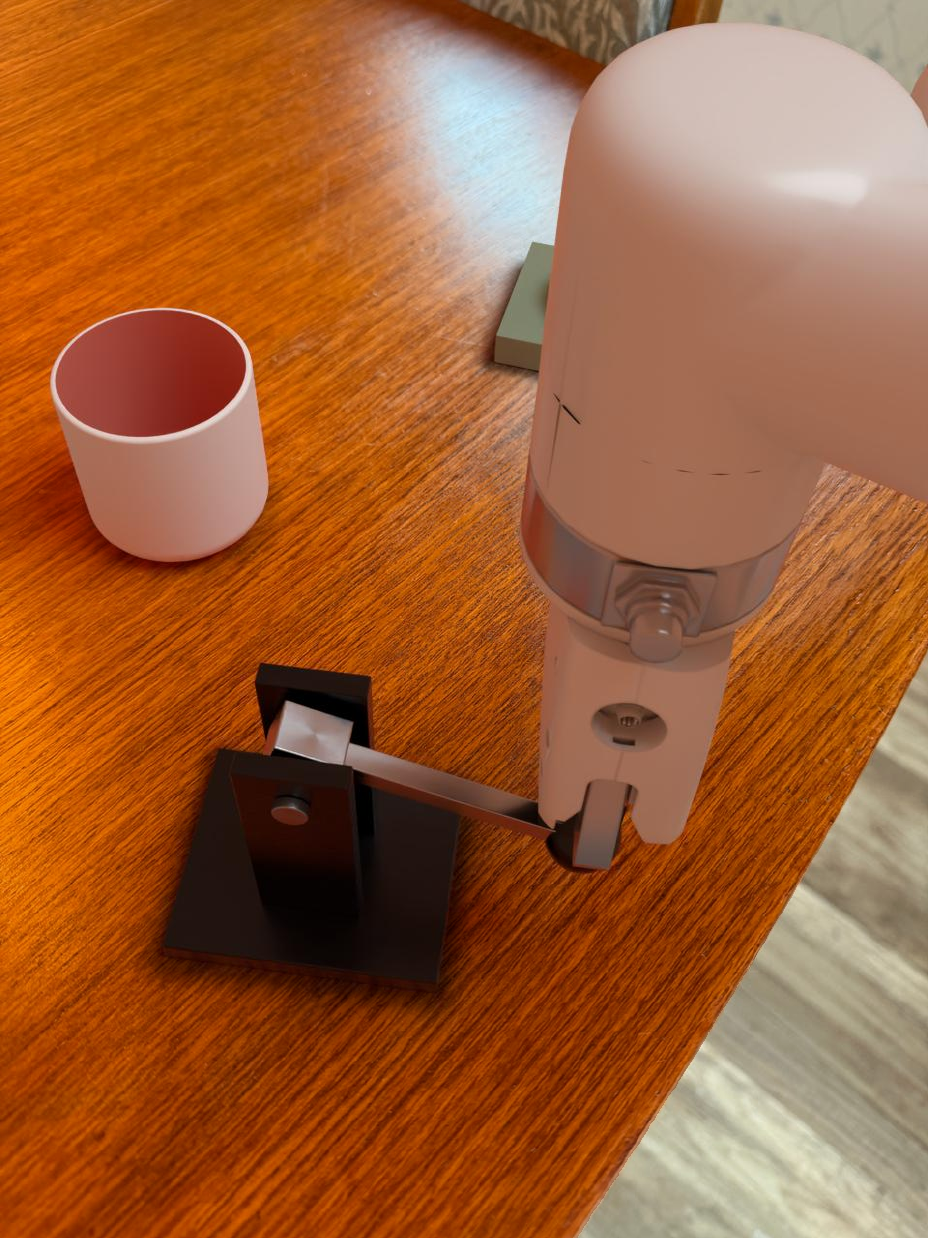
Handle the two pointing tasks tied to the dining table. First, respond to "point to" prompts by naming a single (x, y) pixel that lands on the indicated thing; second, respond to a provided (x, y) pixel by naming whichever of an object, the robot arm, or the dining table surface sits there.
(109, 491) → the cup
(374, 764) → the lever
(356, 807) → the bracket
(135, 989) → the dining table surface
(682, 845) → the dining table surface
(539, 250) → the button box
